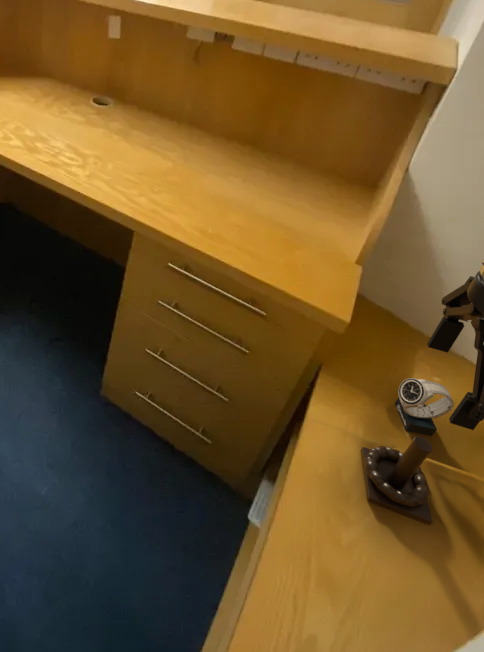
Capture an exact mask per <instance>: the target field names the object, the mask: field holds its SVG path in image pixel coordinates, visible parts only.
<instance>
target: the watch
mask: <svg viewBox="0 0 484 652" xmlns="http://www.w3.org/2000/svg"><path fill="white" fill-rule="evenodd" d="M397 393H398V396H397V398H396V400H395V402H394V405H395V408H396V410H397V413H398V416H399V418H400V420H401V423H402V425H403V428H404V430H405V432H409V433H414V434H418V435H424V436H429V437H432V436H433V435H434V434H435V433H436V431H437V430H438V429H437V427H436V425H435V422H434V421H433V418H434V419H437V418H440V417H442V416H445V415H447V414H448V413H450V412H451V411H453V408H454V406H455V402H454V399H453V397H452V395H451V394H450V391H449V390H448V388H447V387H446V386H445V385H443V384H441V383H439V382H435V381H431V380H427V379H423V378H420V379H419V378H418V379H417V378H414V377H409V378H406V379H404V380H402V382H401V383H400V384H399V387H398V392H397ZM435 395H439V396H443V397H441V398H440V399H437V400H436V401H433V402H432V403H429V404H427V402H428V401H430V400H431V399H432V398H434V397H435ZM427 405H428V406H427Z"/></svg>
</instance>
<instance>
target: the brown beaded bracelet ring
mask: <svg viewBox="0 0 484 652" xmlns="http://www.w3.org/2000/svg"><path fill="white" fill-rule="evenodd" d="M369 449H370V450H369V452H368V454H367V455H366V457H365V465H366V470H367V474H368V476H369V477H370V479H371V480H372V482H373V483H374V485H375V486H376V488H377V489H378V490H379V491H380V492H382V493H383V494H384V495H386V496H387V497H388V498H389V499H391V500H392V501H394V502H396V503H399V504H402V505H405V506H408V507H414V506H418V505H422V504H425V502H426V500H427V498H428V499H429V495H430V493H431V490H430V486H429V483H428V480H427V476H426V475H425V473H424V472H423V471H422V468H421V469H420V468H418V469H417V471H416V472H415V473H414V475H413V478H414V481H415V485H416V488H415V490H414V492H411V493H404V492H401V491H397V490H396V489H394V488H393V487H392V486H390V485H389V484H388V483H386V482H385V480H384V479H383V477H382V476H381V475H380V473H379V470H378V466H377V464H378V462H379V460H380V459H384V458H388V459H391V460H394V461H397V462H398V461H399V460H400V458H401V457H402V455H403V454H404V452H402V451H400V450H398V449H395V448H392V447H388V446H385V445H379V446H375V447H372V448H369Z"/></svg>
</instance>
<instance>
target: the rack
mask: <svg viewBox="0 0 484 652" xmlns="http://www.w3.org/2000/svg"><path fill="white" fill-rule="evenodd" d="M370 449H371V448H368V447H366V446H362V447H361V448H360V457H361V463H362V472H363V480H364V486H365V494H366V501H367V502H368V503H371V504H373V505H377V506H379V507H382V508H384V509H387V510H390V511H392V512H395V513H396V514H397V513H398V514H400V515H402V516H405V517H407V518H410V519H413V520H416V521H418V522H421V523H424V524H426V525H429V526H430V525H431V524H433V516H432V512H431V507H430V502H429V497H428V498H427V500H426V502H425V504H422V505H418V506H414V507H408V506H405V505H402V504H399V503H396V502H394V501H392V500H391V499H389V498H388V497H387V496H386V495H384V494H383V493H382V492H380V491H379V490H378V489H377V488H376V486H375V485H374V483H373V482H372V480H371V479H370V477H369V476H368V474H367V470H366V465H365V457H366V455H367V454H368V452H369V450H370ZM432 450H433V446H432V443H431V442H430V441H429V440H428V439H426V437H423V436H420V435H417V436H415V437H414V438H413V439H412V441H411V442H410V444H408V446H407V448H406V450H405V451H404V452H403V455H402V457H401V458H400V460H399V461H398V462H397V461H394V460H391V459H388V458H384V459H380V460H379V462H378V464H377V466H378V470H379V473H380V475H381V476H382V477H383V479H384V480H385V482H386V483H388V484H389V485H390V486H392V487H393V488H394V489H396V490H397V491H401V492H404V493H411V492H414V490H415V488H416V485H415V481H414V478H413V475H414V473H415V472H416V471H417V469H418V468H420V469H421V470H422V468H421V465H422V464H423V463H424V462H425V460H426V458H428V456H429V455H430V454H431V452H432Z"/></svg>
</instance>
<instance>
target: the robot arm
mask: <svg viewBox="0 0 484 652" xmlns="http://www.w3.org/2000/svg"><path fill="white" fill-rule="evenodd" d="M481 264H482V265H481V267H480V269H479V271H478V272H476V273H475V276H472V275H471V276H469V277H468V278H467V280H466V281H465V282H464V283H463V284H462V285H461V286H459V287H457V288H456V289H454V290H453V291H451V292H450V293H449V292H448V294H445V296H443V297H442V298H441V301H440V302H441V305H442V306H445V308H443V310H442V315H443V316H442V318H441V320H440V322H439V323H438V324H437V326H436V328H435V329H434V331H433V333H432V334H431V336H430V338H429V340H428V341H427V343H426V345H427V347H428V348H430V349H433V350H437V351H441V352H445V353H449V352H450V350H451V348H452V347H453V345H454V344H455V342H456V341H457V339H458V337H459V336H460V334H461V332H462V331H463V330H464V328H465V323H464V322H467V323H469V321H470V325H471V327H472V328H473V330H474V335H475V336H474V342H473V347H474V349H475V350H476V351H477V353H476V355H477V356H476V363H475V370H474V377H473V384H472V385H473V386H472V391H467V392H466V393H465V395H464V397H463V398H462V399H461V400H460V402H459V404H458V405H457V406H456V407H455V409H454V411H453V412H451V415H450V416H449V418H448V420H449V422H450V424H451V425H455V426H458V427H461V428H464V429H467V430H471V431H474V430H475V428H476V427H477V426H478V425H479V423H480V422H483V421H484V259H482V261H481ZM463 321H464V322H463Z"/></svg>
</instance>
